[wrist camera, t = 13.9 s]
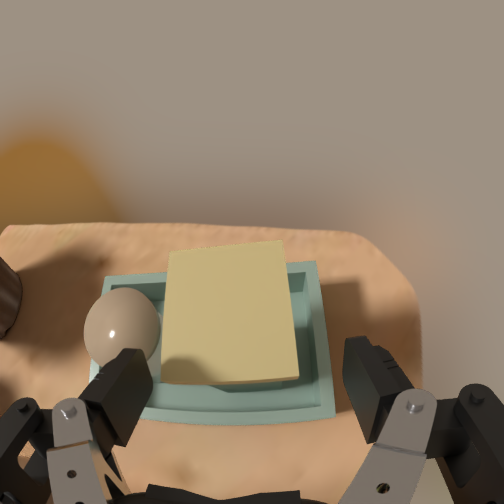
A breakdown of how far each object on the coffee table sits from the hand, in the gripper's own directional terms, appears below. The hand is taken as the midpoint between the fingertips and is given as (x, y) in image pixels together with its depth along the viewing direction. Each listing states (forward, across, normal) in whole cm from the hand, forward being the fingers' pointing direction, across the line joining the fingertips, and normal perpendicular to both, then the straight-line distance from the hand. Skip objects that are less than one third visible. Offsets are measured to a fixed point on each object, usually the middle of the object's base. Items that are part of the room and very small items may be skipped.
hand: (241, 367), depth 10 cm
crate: (+13, +4, +8) cm, 16 cm away
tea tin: (+12, +1, +8) cm, 14 cm away
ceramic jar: (+12, +10, +7) cm, 17 cm away
